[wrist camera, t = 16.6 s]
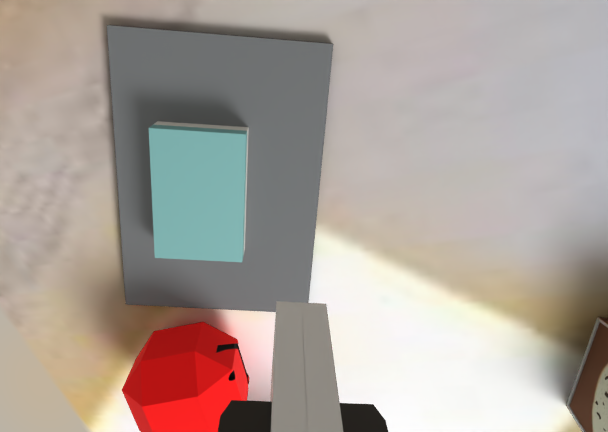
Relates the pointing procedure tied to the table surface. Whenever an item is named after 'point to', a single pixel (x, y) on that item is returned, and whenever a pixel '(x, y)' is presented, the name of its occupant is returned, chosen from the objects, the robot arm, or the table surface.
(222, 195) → the tile
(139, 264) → the mat
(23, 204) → the table surface
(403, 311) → the table surface
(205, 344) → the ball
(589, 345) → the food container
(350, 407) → the robot arm
